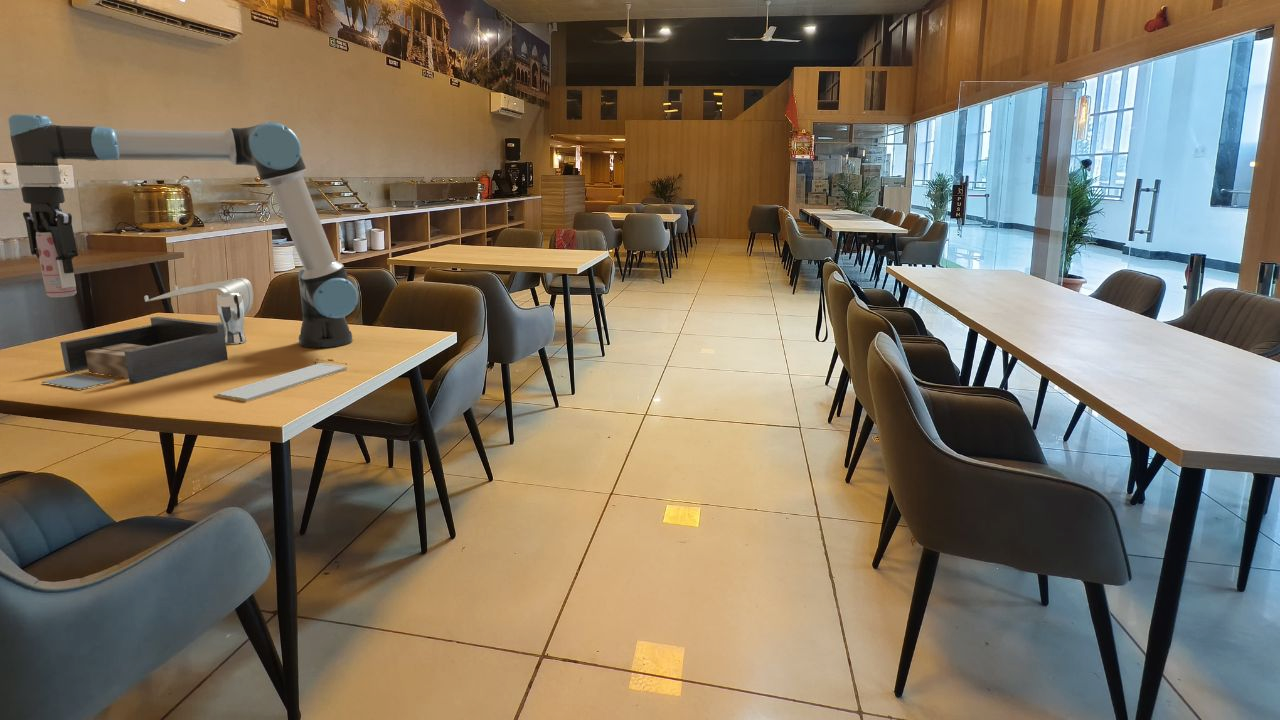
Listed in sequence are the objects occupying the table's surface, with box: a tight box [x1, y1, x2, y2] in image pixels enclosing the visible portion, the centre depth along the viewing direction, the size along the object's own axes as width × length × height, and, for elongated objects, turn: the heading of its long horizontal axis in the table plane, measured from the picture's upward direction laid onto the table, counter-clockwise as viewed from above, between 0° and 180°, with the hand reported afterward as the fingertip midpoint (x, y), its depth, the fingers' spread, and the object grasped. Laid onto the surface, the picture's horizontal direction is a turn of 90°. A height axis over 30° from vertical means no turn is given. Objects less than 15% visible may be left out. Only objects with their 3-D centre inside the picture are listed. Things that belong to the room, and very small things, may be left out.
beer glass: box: [216, 292, 247, 345], centre depth 220 cm, size 7×7×15 cm
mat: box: [41, 373, 115, 389], centre depth 178 cm, size 14×8×1 cm, turn 69°
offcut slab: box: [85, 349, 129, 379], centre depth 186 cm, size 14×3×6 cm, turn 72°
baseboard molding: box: [213, 358, 348, 402], centre depth 181 cm, size 31×3×12 cm
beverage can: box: [36, 232, 77, 298], centre depth 171 cm, size 6×6×15 cm
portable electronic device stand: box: [143, 277, 254, 324], centre depth 237 cm, size 26×24×16 cm
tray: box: [60, 316, 229, 385], centre depth 193 cm, size 26×26×10 cm
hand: (60, 285), depth 172 cm, fingers closed on beverage can, 6 cm apart
